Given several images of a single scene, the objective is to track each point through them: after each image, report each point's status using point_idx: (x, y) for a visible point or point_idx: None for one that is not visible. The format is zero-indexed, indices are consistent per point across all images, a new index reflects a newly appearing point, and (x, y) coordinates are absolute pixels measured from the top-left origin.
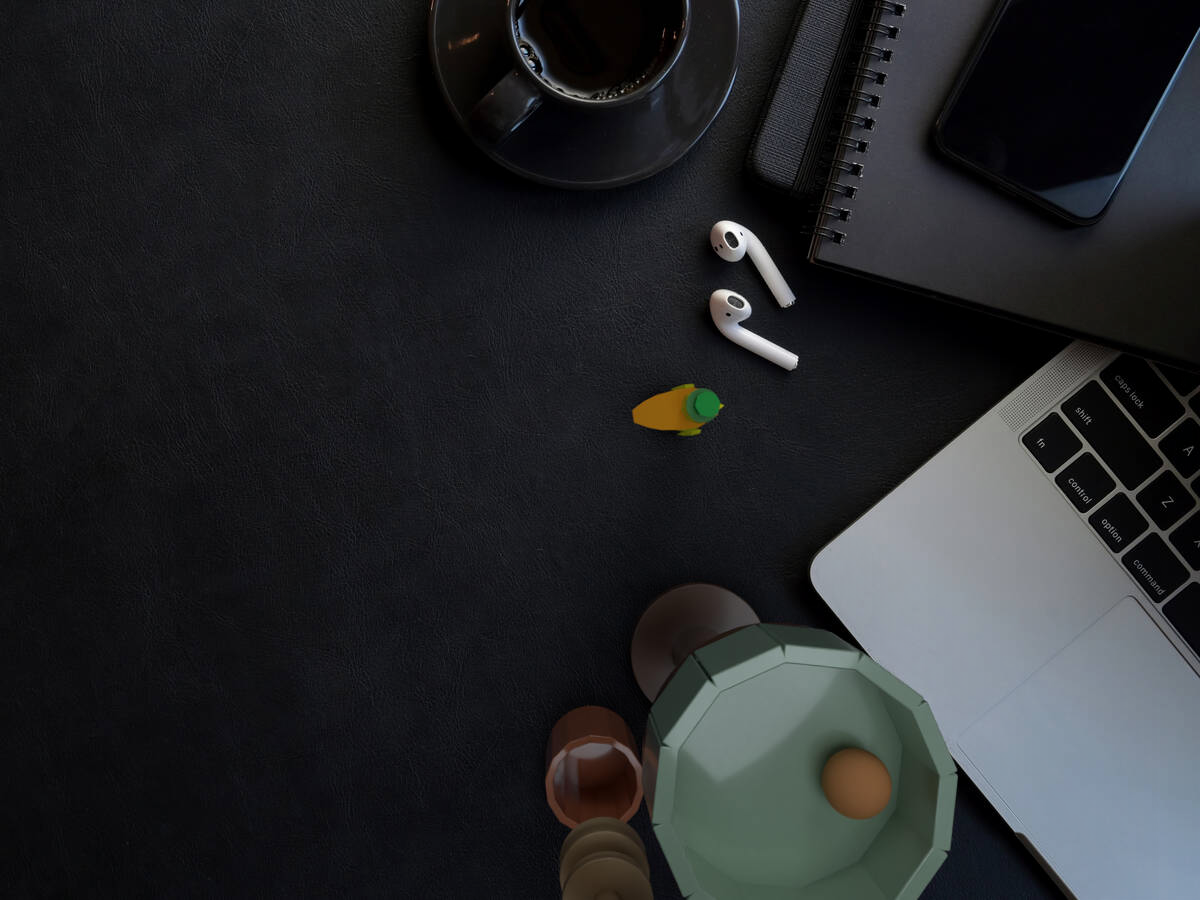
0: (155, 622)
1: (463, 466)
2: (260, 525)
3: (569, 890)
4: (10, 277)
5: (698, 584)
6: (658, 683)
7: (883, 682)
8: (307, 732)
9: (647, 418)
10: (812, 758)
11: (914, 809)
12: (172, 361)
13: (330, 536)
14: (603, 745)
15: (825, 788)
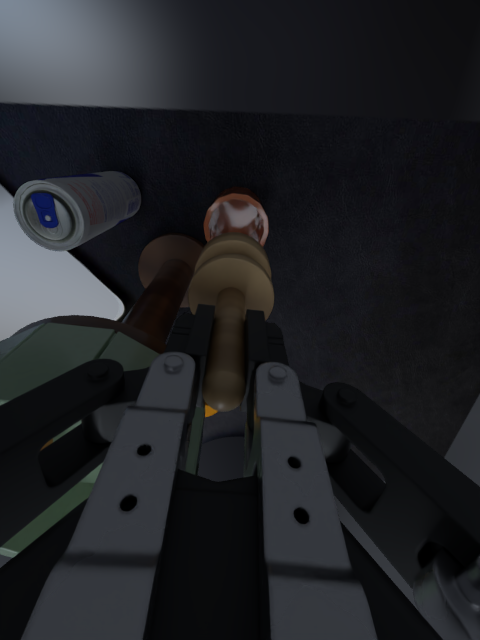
0: (463, 290)
1: (295, 353)
2: (395, 332)
3: (266, 312)
4: (466, 417)
5: (181, 307)
6: (198, 257)
7: (14, 555)
8: (401, 229)
9: (210, 409)
10: (67, 430)
11: None
12: (413, 391)
13: (363, 327)
14: (229, 219)
15: (43, 448)
